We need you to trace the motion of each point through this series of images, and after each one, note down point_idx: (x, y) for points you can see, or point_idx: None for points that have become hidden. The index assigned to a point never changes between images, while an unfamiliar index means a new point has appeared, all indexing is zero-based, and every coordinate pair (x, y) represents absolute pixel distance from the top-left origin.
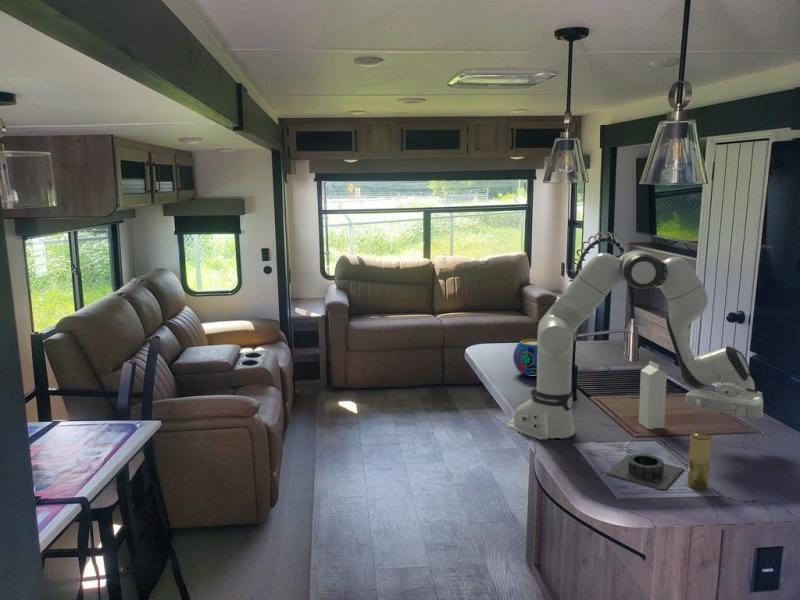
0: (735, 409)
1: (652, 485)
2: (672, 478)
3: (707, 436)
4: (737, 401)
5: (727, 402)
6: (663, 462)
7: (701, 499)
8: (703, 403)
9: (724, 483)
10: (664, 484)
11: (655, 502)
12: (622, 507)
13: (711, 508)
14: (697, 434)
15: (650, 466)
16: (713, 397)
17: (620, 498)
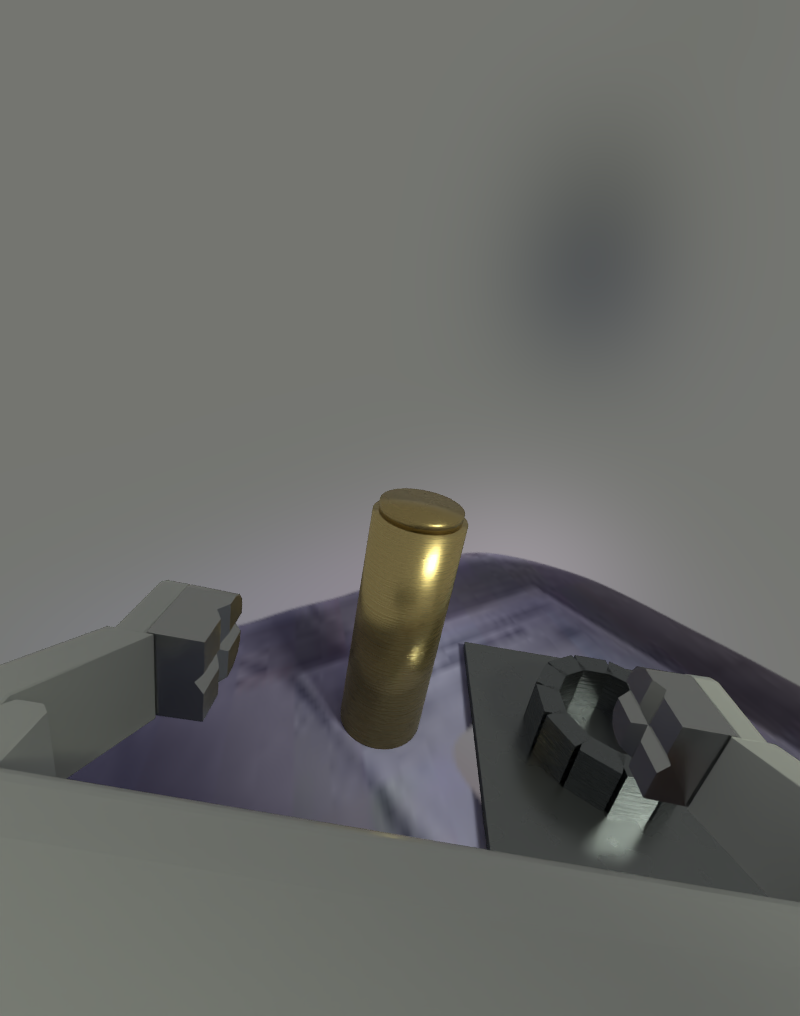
0: (195, 609)
1: (505, 649)
2: (480, 718)
3: (389, 497)
4: (2, 870)
5: (319, 826)
6: (553, 721)
7: (350, 635)
8: (678, 722)
9: (269, 792)
10: (480, 666)
11: (454, 592)
12: (500, 562)
13: (318, 603)
14: (435, 503)
15: (563, 668)
16: (793, 1010)
17: (528, 587)
